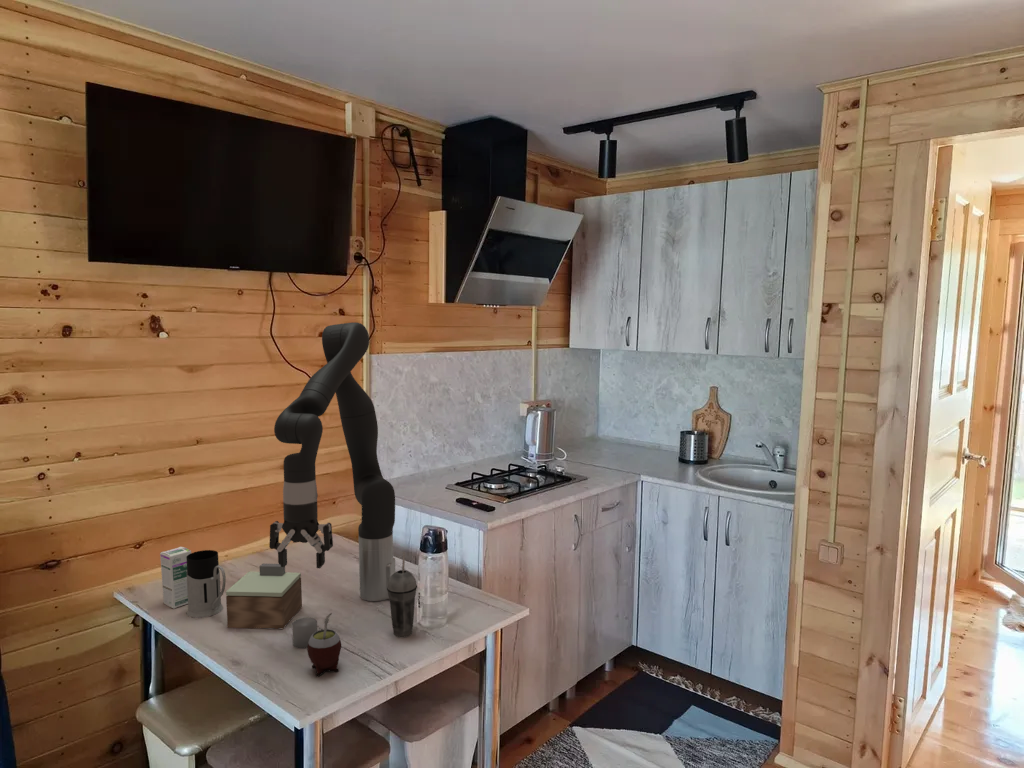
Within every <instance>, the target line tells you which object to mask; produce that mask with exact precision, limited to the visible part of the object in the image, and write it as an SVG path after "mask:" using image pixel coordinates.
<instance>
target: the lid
mask: <svg viewBox="0 0 1024 768" xmlns="http://www.w3.org/2000/svg"><path fill="white" fill-rule="evenodd" d="M300 577H301V578H302V573H301V572H289V571H288V572H286V566H285V567H281V565H279V563H261V564H260V565H259V571H248V572H247V573H246V574H245V575H243V576H242V577H241V578H239V580H238V581H236V582H235V583H234V584H233V585H232V586H230V587H229V588H228V589H227V590H226V591H225V596H227V595H228V596H272V597H282V596H283V595H284V594H285V593H286V592H287V591H288V590H289V589H290V587H291V586H292V585H293V584H294V583H295V582H296V581H297V580H298V579H299V578H300Z"/></svg>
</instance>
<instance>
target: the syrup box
mask: <svg viewBox="0 0 1024 768" xmlns="http://www.w3.org/2000/svg"><path fill="white" fill-rule="evenodd" d="M191 553H192V550H191V549H189V548H187V547H184V546H179V547H176V548H172V549H169V550H166V551H161V552H160V553H159V555H160V556H159V559H160V567H161V569H160V572H161V573H160V574H161V586H162V598H163V605H166V606H167V607H169V608H171V609H173V610H175V609H177V608H179V607H183V606H186V605H188V592H187V556H188V555H189V554H191Z"/></svg>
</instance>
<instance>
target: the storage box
mask: <svg viewBox="0 0 1024 768" xmlns="http://www.w3.org/2000/svg"><path fill="white" fill-rule="evenodd" d="M302 596H303V595H302V576H301V577H300V578H299V579H298V580H297V581H296V582H295V583H294V584H293V585H292V586H291V587H290V589H289V590H288V591H287V592H286V593H285V594H284V595H283V596H282V597H272V596H228V595H225V602H226V620H227V621H226V623H227V625H226V626H227V628H228V629H232V628H233V629H260V628H275V629H276V630H279V629H278V628H283V629H285V627H286V626H287V625H288V624H289V623H288V622H290V621H291V620H292V619H293V618H294V617H295V615H296V614H298V612H299V611H300V610H299V609H302V607H303V597H302ZM293 616H294V617H293ZM292 617H293V618H292ZM291 618H292V619H291ZM290 619H291V620H290ZM289 620H290V621H289ZM287 623H288V624H287ZM286 624H287V625H286ZM285 625H286V626H285ZM275 629H274V630H275Z"/></svg>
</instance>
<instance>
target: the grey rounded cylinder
mask: <svg viewBox="0 0 1024 768" xmlns="http://www.w3.org/2000/svg"><path fill="white" fill-rule="evenodd" d="M291 628H292V646H293V648H295V649H299V650H300V649H303V650H304V649H307V648H308V642H309V639H310V637H311V636H312V634H313V633H315V632H317V631H318V620H317V618H314V617H309V616H308V617H301V618H298V619H296V620H294V621H293V622H292V626H291Z"/></svg>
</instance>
